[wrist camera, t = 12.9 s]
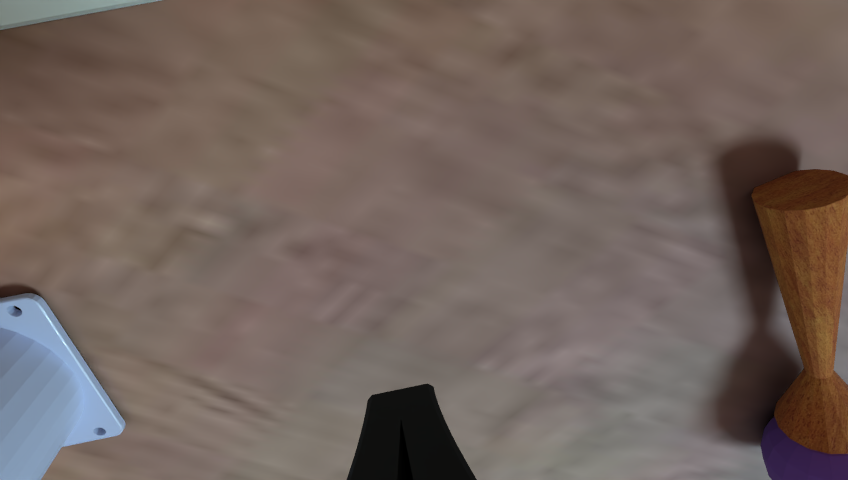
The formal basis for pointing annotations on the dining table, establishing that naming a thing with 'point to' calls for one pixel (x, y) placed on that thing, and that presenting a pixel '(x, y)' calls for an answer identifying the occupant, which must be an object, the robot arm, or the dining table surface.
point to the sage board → (54, 10)
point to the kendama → (808, 321)
